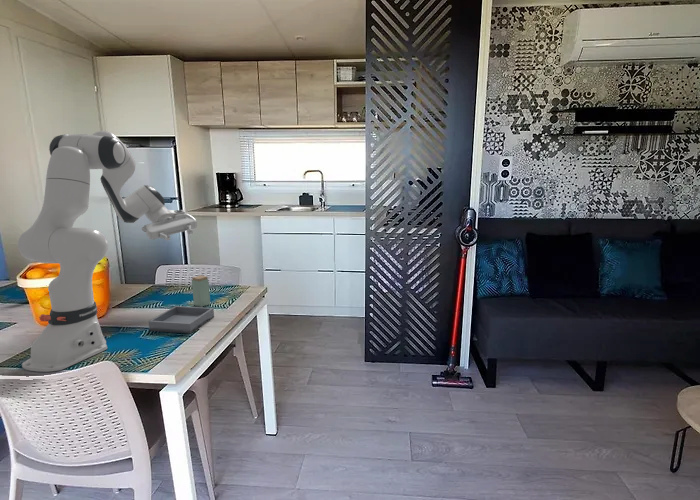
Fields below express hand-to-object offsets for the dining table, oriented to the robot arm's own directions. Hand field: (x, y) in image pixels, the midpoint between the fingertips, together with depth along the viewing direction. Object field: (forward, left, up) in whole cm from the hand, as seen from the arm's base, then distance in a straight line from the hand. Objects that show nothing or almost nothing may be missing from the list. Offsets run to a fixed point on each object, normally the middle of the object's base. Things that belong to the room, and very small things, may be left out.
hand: (180, 235), depth 165 cm
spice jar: (-1, -8, -29) cm, 30 cm away
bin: (-21, -12, -29) cm, 38 cm away
